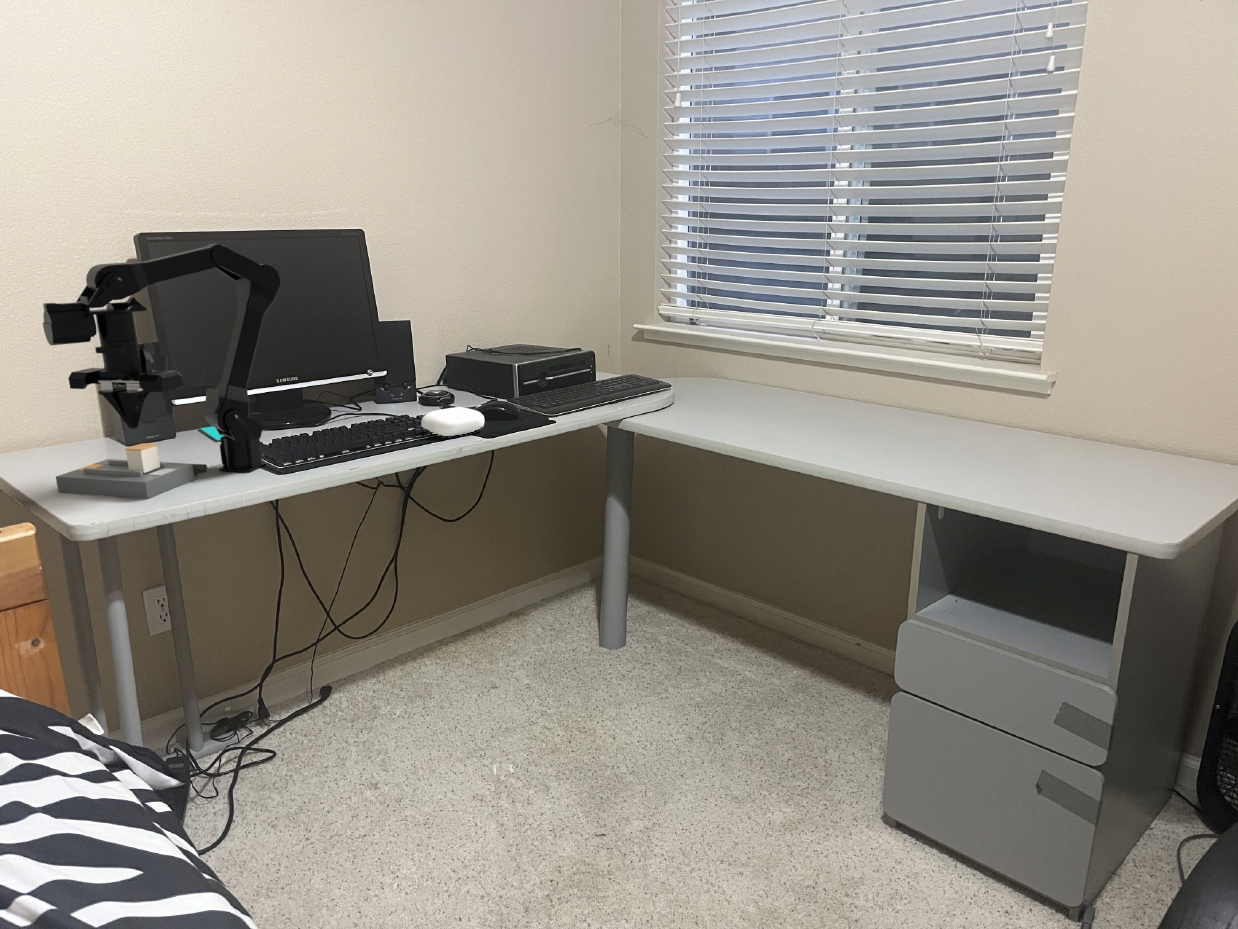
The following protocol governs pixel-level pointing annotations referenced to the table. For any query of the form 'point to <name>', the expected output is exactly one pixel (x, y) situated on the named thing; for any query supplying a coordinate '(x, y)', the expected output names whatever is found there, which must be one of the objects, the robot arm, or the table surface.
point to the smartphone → (211, 433)
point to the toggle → (143, 457)
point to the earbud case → (453, 421)
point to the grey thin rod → (201, 467)
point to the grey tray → (124, 479)
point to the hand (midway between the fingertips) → (133, 428)
